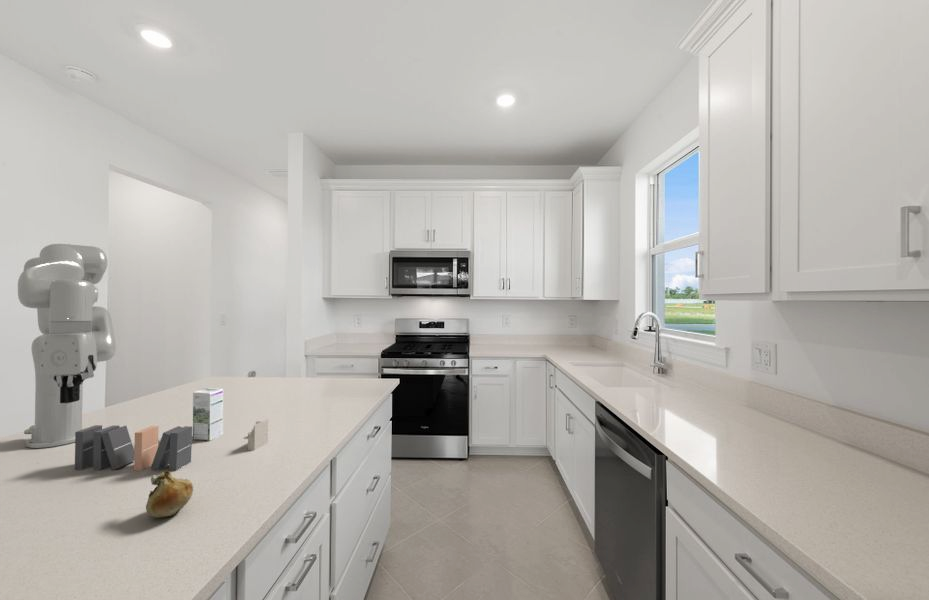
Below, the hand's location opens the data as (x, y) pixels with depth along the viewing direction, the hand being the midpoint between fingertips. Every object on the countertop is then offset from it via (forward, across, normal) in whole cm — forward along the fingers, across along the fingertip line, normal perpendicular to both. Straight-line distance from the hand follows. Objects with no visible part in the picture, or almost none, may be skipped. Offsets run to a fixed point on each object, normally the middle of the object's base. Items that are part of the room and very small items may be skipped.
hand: (69, 401), depth 95 cm
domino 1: (+16, +4, 0) cm, 17 cm away
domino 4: (+16, +19, 0) cm, 25 cm away
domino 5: (+16, +23, 0) cm, 28 cm away
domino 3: (+16, +14, 0) cm, 21 cm away
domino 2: (+16, +9, 0) cm, 18 cm away
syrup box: (+16, +21, +20) cm, 33 cm away
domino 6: (+16, +28, 0) cm, 32 cm away
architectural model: (+17, +40, +14) cm, 45 cm away
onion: (+17, +41, -21) cm, 49 cm away
